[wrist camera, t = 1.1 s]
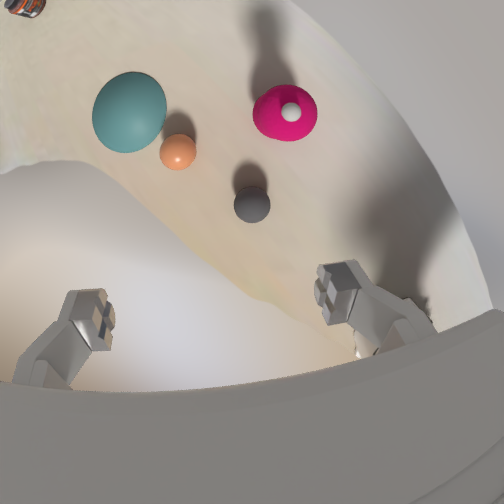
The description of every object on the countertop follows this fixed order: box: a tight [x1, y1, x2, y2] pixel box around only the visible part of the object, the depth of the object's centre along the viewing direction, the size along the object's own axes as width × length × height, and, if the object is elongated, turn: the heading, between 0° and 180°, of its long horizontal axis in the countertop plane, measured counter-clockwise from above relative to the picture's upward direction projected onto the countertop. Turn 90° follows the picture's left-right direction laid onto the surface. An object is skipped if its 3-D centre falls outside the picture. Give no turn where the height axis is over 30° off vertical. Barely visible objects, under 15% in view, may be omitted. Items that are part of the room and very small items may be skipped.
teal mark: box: [92, 73, 167, 153], centre depth 39 cm, size 14×14×1 cm
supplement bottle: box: [4, 0, 45, 18], centre depth 22 cm, size 5×5×10 cm
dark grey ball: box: [234, 187, 270, 223], centre depth 44 cm, size 6×6×6 cm
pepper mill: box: [253, 85, 317, 141], centre depth 31 cm, size 7×7×20 cm
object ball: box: [160, 134, 196, 170], centre depth 40 cm, size 6×6×6 cm
